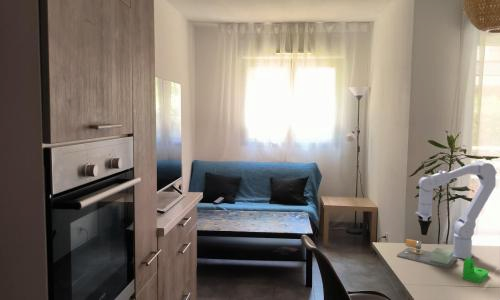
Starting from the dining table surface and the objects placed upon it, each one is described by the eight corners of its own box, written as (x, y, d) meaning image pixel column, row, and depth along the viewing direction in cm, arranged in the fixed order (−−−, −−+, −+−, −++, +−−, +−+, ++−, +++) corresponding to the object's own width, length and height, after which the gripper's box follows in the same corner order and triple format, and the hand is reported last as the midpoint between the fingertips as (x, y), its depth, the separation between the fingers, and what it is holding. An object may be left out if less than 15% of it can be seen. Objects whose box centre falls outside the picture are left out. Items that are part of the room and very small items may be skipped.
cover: (436, 255, 196) (436, 247, 195) (452, 258, 191) (453, 250, 191) (430, 260, 189) (430, 252, 188) (447, 264, 184) (448, 255, 184)
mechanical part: (478, 283, 167) (480, 262, 167) (462, 279, 172) (463, 259, 171) (490, 275, 175) (491, 256, 175) (474, 271, 180) (475, 252, 179)
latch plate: (407, 249, 207) (408, 246, 207) (456, 259, 194) (457, 256, 194) (396, 257, 196) (396, 254, 195) (448, 268, 182) (448, 265, 182)
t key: (406, 248, 204) (407, 238, 204) (421, 251, 200) (422, 241, 200) (405, 249, 202) (405, 239, 202) (419, 252, 198) (420, 242, 198)
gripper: (415, 200, 207) (414, 228, 209) (416, 205, 194) (414, 235, 195) (431, 201, 205) (430, 229, 206) (433, 207, 191) (431, 237, 193)
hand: (423, 232), depth 200 cm, fingers open, 7 cm apart
